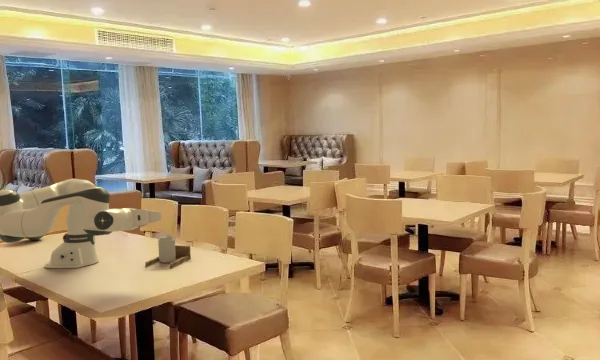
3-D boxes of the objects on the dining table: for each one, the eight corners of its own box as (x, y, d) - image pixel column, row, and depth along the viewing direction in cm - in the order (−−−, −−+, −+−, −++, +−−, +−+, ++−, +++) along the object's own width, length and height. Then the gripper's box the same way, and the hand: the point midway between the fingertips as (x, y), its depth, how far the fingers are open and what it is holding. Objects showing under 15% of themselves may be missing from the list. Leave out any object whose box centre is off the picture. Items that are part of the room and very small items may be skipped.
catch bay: (172, 267, 224) (171, 254, 224) (145, 266, 228) (144, 253, 227) (190, 258, 241) (190, 245, 240) (165, 256, 244) (164, 244, 244)
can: (172, 263, 231) (171, 237, 230) (156, 263, 232) (155, 237, 231) (178, 259, 239) (177, 234, 237) (162, 259, 239) (161, 234, 238)
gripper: (106, 229, 205) (126, 227, 219) (150, 224, 200) (169, 223, 213) (105, 214, 206) (125, 213, 219) (149, 208, 200) (167, 208, 214)
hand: (147, 218), depth 216 cm, fingers closed
